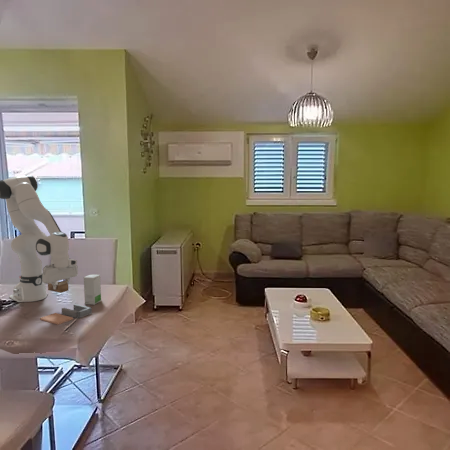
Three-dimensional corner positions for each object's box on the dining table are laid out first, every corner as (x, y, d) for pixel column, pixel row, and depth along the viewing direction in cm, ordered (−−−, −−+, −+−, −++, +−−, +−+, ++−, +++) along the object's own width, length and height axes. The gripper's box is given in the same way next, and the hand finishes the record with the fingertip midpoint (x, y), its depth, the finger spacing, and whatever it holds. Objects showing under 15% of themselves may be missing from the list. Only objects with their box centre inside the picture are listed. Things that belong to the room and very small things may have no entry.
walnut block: (48, 290, 225) (47, 280, 224) (55, 287, 229) (55, 278, 228) (60, 292, 220) (60, 282, 219) (68, 290, 224) (68, 280, 224)
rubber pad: (40, 319, 210) (39, 318, 210) (55, 314, 218) (55, 312, 217) (57, 324, 203) (57, 323, 203) (73, 319, 210) (73, 317, 210)
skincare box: (94, 305, 233) (93, 277, 231) (83, 304, 234) (82, 277, 232) (101, 300, 241) (100, 274, 239) (91, 299, 242) (90, 273, 240)
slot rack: (61, 314, 218) (61, 308, 218) (75, 309, 226) (75, 303, 225) (77, 318, 212) (77, 312, 211) (91, 313, 219) (91, 307, 219)
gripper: (46, 267, 211) (47, 293, 213) (79, 260, 229) (79, 284, 231) (39, 265, 214) (39, 291, 216) (71, 258, 232) (72, 282, 234)
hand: (60, 287), depth 224 cm, fingers closed on walnut block, 5 cm apart
